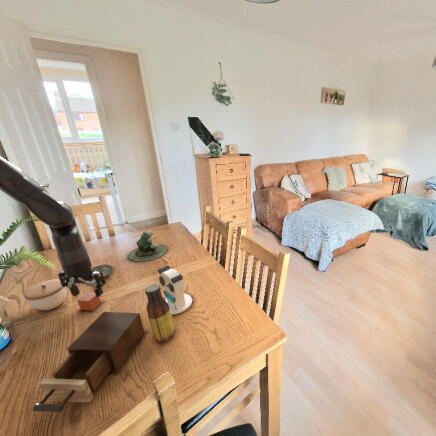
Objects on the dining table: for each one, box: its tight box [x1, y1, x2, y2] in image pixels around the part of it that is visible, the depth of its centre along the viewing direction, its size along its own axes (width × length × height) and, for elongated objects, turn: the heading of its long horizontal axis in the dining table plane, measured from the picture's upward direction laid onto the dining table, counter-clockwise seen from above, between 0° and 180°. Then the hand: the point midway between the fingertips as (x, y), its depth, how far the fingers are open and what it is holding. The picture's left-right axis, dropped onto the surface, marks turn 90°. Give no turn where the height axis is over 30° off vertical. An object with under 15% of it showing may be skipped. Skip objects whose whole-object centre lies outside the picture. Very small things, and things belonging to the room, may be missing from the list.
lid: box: [89, 264, 114, 282], centre depth 107 cm, size 11×10×5 cm
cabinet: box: [66, 311, 145, 372], centre depth 73 cm, size 14×12×9 cm
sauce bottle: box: [144, 283, 176, 343], centre depth 76 cm, size 6×6×20 cm
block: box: [77, 292, 102, 311], centre depth 90 cm, size 4×4×4 cm
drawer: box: [31, 351, 113, 413], centre depth 62 cm, size 17×10×7 cm, turn 0°
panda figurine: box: [157, 264, 193, 315], centre depth 91 cm, size 12×11×15 cm
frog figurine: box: [127, 230, 168, 262], centre depth 126 cm, size 18×18×12 cm
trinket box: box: [23, 278, 67, 311], centre depth 89 cm, size 11×11×9 cm
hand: (88, 295), depth 89 cm, fingers open, 8 cm apart
